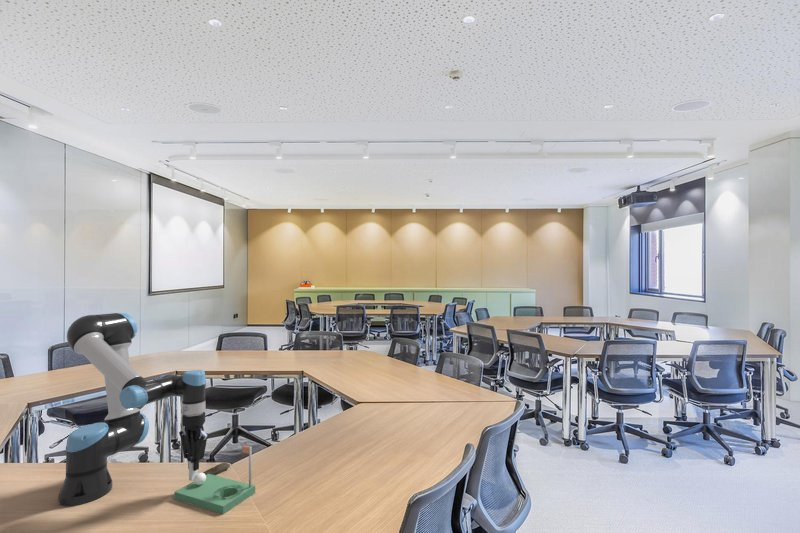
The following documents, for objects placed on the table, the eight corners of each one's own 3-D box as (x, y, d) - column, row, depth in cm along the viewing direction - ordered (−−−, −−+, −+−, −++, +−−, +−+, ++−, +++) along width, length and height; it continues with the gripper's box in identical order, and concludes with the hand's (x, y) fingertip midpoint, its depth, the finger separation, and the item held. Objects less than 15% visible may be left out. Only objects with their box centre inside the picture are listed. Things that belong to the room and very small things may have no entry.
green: (174, 499, 135) (175, 451, 136) (208, 480, 148) (209, 436, 148) (223, 514, 125) (223, 462, 126) (255, 492, 138) (255, 446, 139)
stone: (224, 466, 160) (224, 460, 160) (232, 468, 157) (232, 463, 157) (194, 480, 149) (194, 474, 149) (201, 483, 146) (201, 477, 146)
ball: (191, 486, 139) (191, 474, 139) (200, 480, 142) (201, 469, 143) (199, 488, 137) (199, 476, 137) (208, 482, 141) (208, 471, 141)
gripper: (172, 414, 142) (171, 480, 140) (197, 418, 136) (197, 486, 135) (190, 408, 148) (190, 470, 147) (215, 412, 143) (214, 477, 142)
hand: (193, 478), depth 141 cm, fingers closed
